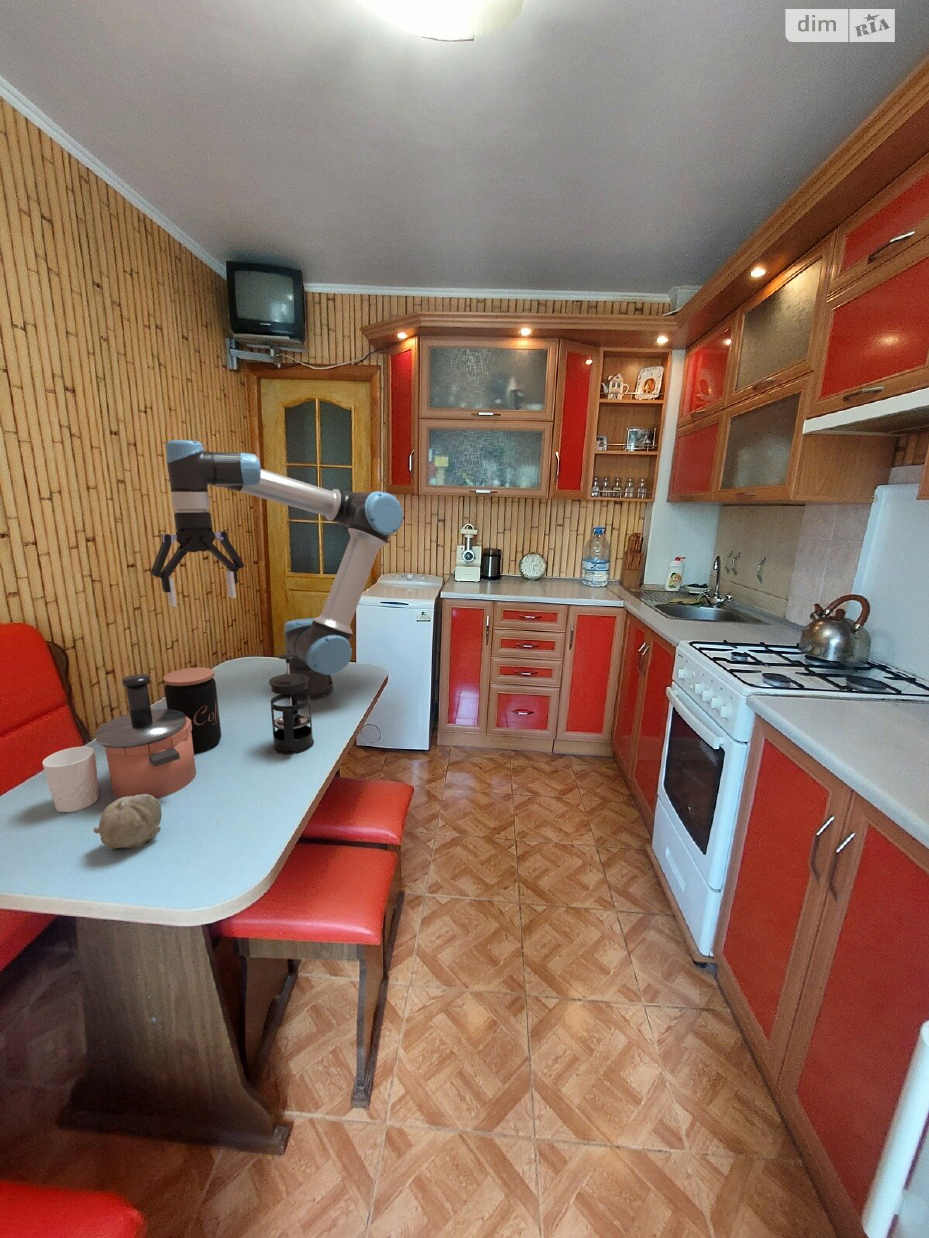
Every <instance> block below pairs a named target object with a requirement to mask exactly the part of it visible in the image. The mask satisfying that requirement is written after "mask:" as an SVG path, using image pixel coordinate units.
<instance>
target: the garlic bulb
mask: <svg viewBox="0 0 929 1238" xmlns="http://www.w3.org/2000/svg"><path fill="white" fill-rule="evenodd" d="M162 816H163V815H162V804H161V802H160V800H159V799H158V798H157V799H156V798H155V797H153V796H151V795H149V794H142V795H135V796H129V797H122V798H120V799H116V800H114V801H112V802H111V803H110V804H109V805H108V806H107V807H105V809H104V810H103V812H102V814H101V817H100V819H99V822H98V827H94V828H93V833H95V834H99V835H100V840H101V844H103V845H105V846H107V848H108V849H110V850H114V849H118V848H128V849H133V848H140V847H141V846H144V844H146V842H148V841H149V840H151V839H152V838H154V837H155V836H156V835H158V834H159V833H160V832H161V826H160V824H161V821H162Z"/></svg>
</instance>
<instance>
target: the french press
mask: <svg viewBox="0 0 929 1238" xmlns="http://www.w3.org/2000/svg"><path fill="white" fill-rule="evenodd" d="M295 657H297V655H296V654H293V653H286V652H285V653H282V654H280V655H278V657H277V658H278V659H280V660H285V664H286V668H287V667H288V674H286V673H285V674H279V675H276V676H274V677H271V678H270V679H269V681H268V684H269V685H270V686H271V692H272V693H274V694H276V695H275V696H273V697H272V698H271V699H270V712H271V725H272V736H273V745H272V746H273V747H272V749H273V751H275V752H276V753H277V754H280V753H282V754H281V755H294V754H293V753H296V754H300V753H303V752H305V750H306V751H308V750H309V749H311V748H312V747H313V746H314V745H315V740H314V737H313V723H312V705H311V699H310V695H308V694H306V693H302V692H301V691H304V690H305V689H307V682H308V681H309V677H308V676H307V675H304V674H298V673H292V674H290V672H289V663H290V659H292V658H295ZM297 697H301V698H306V699H308V700H305V701H304V702H302V703H299V704H298V701H299V700H297ZM289 698H290V699H289ZM284 699H289V705H277V704H274V703H277V702H278V701H281V700H284ZM307 707H308V711H309V712H308V713H309V715H308V714H304V713H299V711H301V710H302V709H305V708H307ZM275 711H276V712H281V713H282V715H281V716H279V717H277V718H275V713H274V712H275ZM276 729H277V730H276ZM295 738H298V739H295ZM310 747H311V748H310ZM307 749H308V750H307Z"/></svg>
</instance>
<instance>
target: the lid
mask: <svg viewBox="0 0 929 1238" xmlns="http://www.w3.org/2000/svg"><path fill="white" fill-rule="evenodd" d="M150 682H151V679H150V675H149V674H148V673H147V674H146V673H140V674H139V673H137V674H132V675H131V674H130V675H128V676H125V677H123V678H122V679H121V683H122V686H123V687H125V689H126V696H127V703H128V709H129V713H128V714H124V715H122V716H118V717H115V718H113V719H111V720H109V721H107V722H105V723H103V724H102V725H100V726H98V728H97V729H96V730H95V735H94V736H95V741H96V743H97V744H98V745H99V746H102V747H104V748H105V747H109V748H130V747H137V746H143V745H147V744H151V743H155V742H158V741H161V740H164V739H167V738H169V737H171V736H173V735H175V734H177V733H178V732H180V731H181V730H182V729H183V728H184V727H185V726H186V724H187V720H186V715H185V714H184V713H183V712H181V711H178V710H172V709H167V708H155V709H152V708H151V701H150V699H151V698H150V693H149V685H148V683H150Z"/></svg>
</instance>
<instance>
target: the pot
mask: <svg viewBox="0 0 929 1238" xmlns="http://www.w3.org/2000/svg"><path fill="white" fill-rule="evenodd" d="M186 720H187V724H186V726H185V727H184V728H183V729H182V730H181V731H180V732H178V733H177V734H175V735H173V736H171V737H169V738H167V739H164V740H161V741H158V742H155V743H151V744H147V745H143V746H137V747H130V748H109V747H104V749H105V754H106V759H107V766H108V767H107V768H108V772H109V778H110V783H111V791H112V794H113V796H114V797H115V798H116V800H118V799H120V798H122V797H129V796H135V795H142V794H149V795H151V796H153V797H155V798H156V799H157V800H158V799H159V798H163V797H167V796H169V795H171V794H175V793H176V792H178V791H180V790H181V789H184V788H185V787H186V786H188V785H189V784H190V783H191V782H192V781H193V780H194V779H195V778H196V775H197V771H196V770H197V768H196V762H195V761H196V759H195V753H194V751H193V743H192V734H191V731H192V724H191V720H190V719H189V718H188V717H187V716H186Z"/></svg>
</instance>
